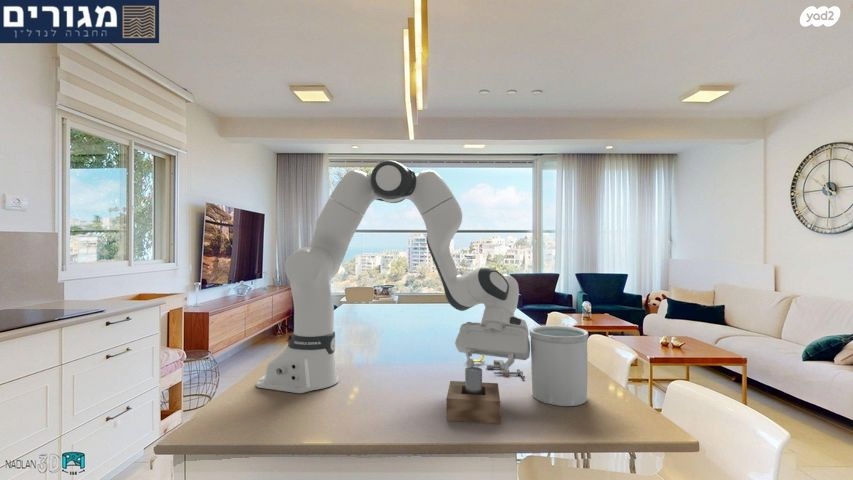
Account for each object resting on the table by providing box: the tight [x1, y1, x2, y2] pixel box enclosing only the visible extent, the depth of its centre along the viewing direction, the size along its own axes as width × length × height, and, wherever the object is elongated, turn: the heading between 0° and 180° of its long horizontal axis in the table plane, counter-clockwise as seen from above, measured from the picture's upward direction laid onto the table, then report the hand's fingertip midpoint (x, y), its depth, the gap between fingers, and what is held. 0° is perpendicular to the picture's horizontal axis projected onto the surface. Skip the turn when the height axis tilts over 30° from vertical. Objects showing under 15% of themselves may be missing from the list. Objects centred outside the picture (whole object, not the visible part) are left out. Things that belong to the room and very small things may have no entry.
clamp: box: [486, 359, 526, 380], centre depth 128 cm, size 15×2×10 cm
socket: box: [445, 380, 501, 425], centre depth 98 cm, size 12×12×5 cm
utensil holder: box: [529, 324, 589, 407], centre depth 108 cm, size 15×15×18 cm
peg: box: [464, 366, 483, 395], centre depth 98 cm, size 4×4×10 cm
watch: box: [473, 355, 485, 363], centre depth 140 cm, size 6×3×6 cm, turn 93°
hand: (486, 368), depth 107 cm, fingers open, 8 cm apart
